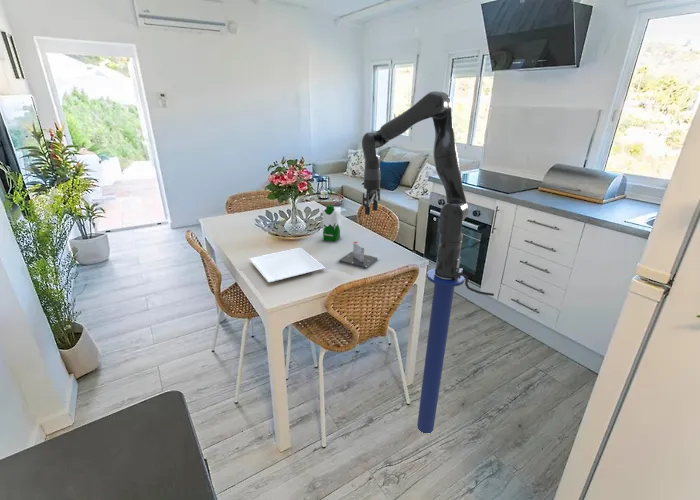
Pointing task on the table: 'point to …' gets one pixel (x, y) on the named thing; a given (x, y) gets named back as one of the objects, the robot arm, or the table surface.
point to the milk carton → (331, 223)
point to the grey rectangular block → (358, 251)
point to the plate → (285, 264)
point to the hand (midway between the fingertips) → (371, 212)
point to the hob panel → (353, 261)
